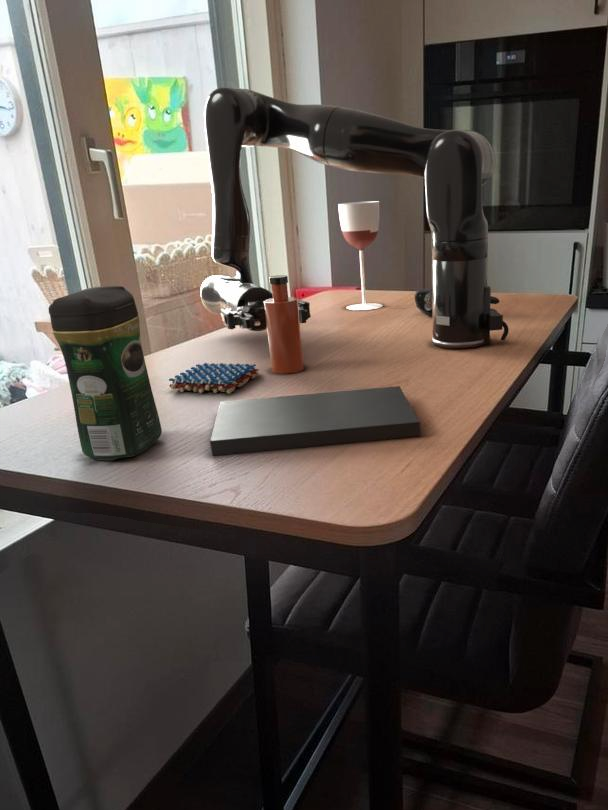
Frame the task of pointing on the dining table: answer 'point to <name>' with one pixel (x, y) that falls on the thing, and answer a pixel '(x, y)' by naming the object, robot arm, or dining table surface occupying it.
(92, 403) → the coffee jar
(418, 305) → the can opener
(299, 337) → the oil bottle
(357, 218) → the wineglass
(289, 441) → the cutting board
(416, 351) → the dining table surface
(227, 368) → the woven mat
